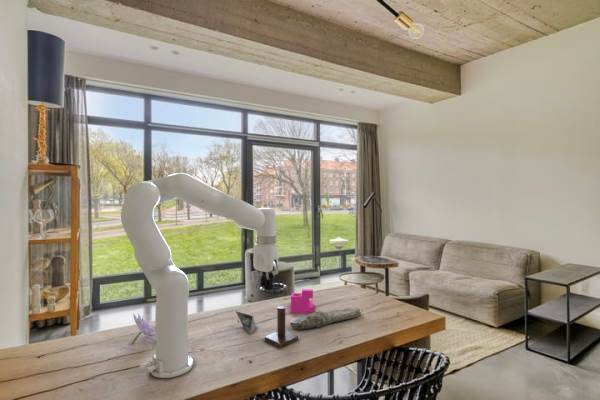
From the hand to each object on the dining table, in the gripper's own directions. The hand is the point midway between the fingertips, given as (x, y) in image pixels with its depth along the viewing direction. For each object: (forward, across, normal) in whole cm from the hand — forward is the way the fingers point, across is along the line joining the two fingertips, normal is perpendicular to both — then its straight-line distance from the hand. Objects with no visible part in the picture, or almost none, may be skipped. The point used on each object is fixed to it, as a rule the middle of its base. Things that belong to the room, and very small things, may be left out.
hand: (266, 288), depth 122 cm
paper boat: (+20, -14, 0) cm, 24 cm away
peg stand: (+19, +5, +3) cm, 20 cm away
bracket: (+20, -13, +33) cm, 41 cm away
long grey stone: (+20, +6, +29) cm, 36 cm away
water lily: (+19, -32, -32) cm, 49 cm away
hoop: (-1, +4, 0) cm, 4 cm away
